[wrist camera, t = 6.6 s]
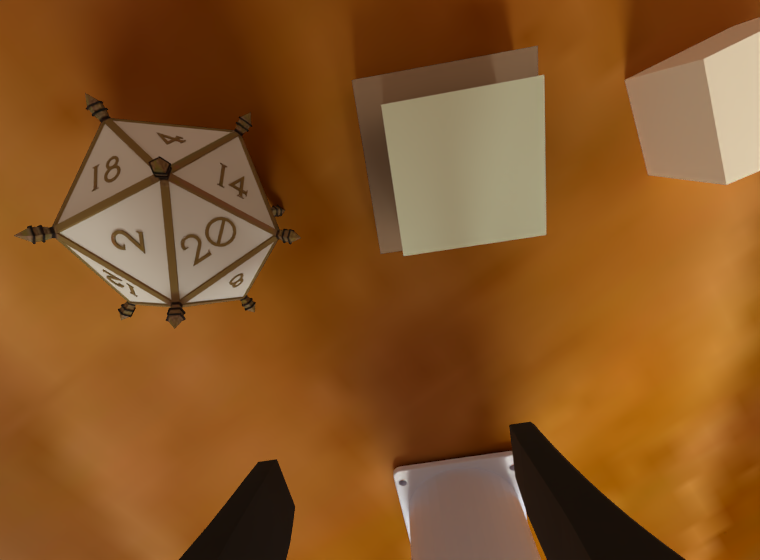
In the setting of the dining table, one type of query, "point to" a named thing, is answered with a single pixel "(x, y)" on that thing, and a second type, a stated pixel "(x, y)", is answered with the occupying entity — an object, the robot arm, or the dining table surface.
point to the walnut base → (417, 85)
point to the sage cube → (469, 165)
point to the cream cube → (702, 109)
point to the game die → (168, 214)
